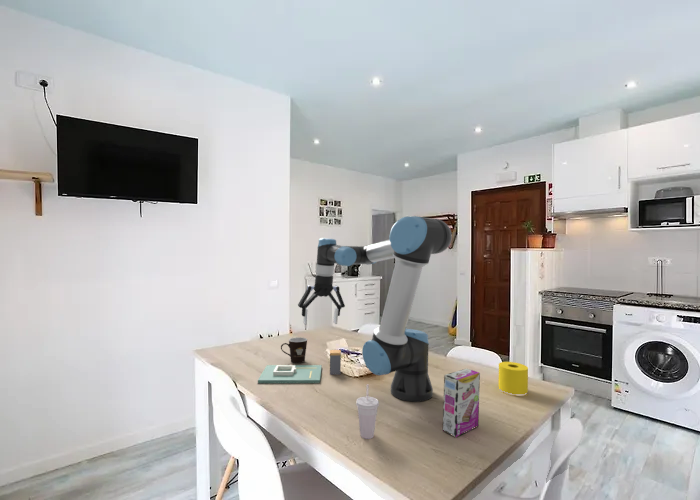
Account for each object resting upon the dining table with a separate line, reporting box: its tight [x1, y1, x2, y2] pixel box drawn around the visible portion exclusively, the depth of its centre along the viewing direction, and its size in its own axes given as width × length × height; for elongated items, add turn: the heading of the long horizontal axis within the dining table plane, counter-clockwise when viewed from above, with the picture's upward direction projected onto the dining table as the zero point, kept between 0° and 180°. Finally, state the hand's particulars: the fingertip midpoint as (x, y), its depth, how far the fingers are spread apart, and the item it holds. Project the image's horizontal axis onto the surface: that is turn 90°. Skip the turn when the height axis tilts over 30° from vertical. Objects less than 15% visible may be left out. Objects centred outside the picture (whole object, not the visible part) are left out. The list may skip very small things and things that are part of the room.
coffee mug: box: [280, 336, 308, 364], centre depth 164 cm, size 12×9×10 cm
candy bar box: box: [442, 368, 481, 438], centre depth 102 cm, size 11×5×16 cm, turn 127°
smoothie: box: [355, 383, 380, 440], centre depth 98 cm, size 6×6×14 cm
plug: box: [329, 349, 342, 376], centre depth 148 cm, size 4×4×9 cm
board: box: [257, 364, 322, 384], centre depth 145 cm, size 18×24×3 cm
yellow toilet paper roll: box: [498, 361, 529, 394], centre depth 131 cm, size 10×10×9 cm
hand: (320, 323), depth 150 cm, fingers open, 13 cm apart
